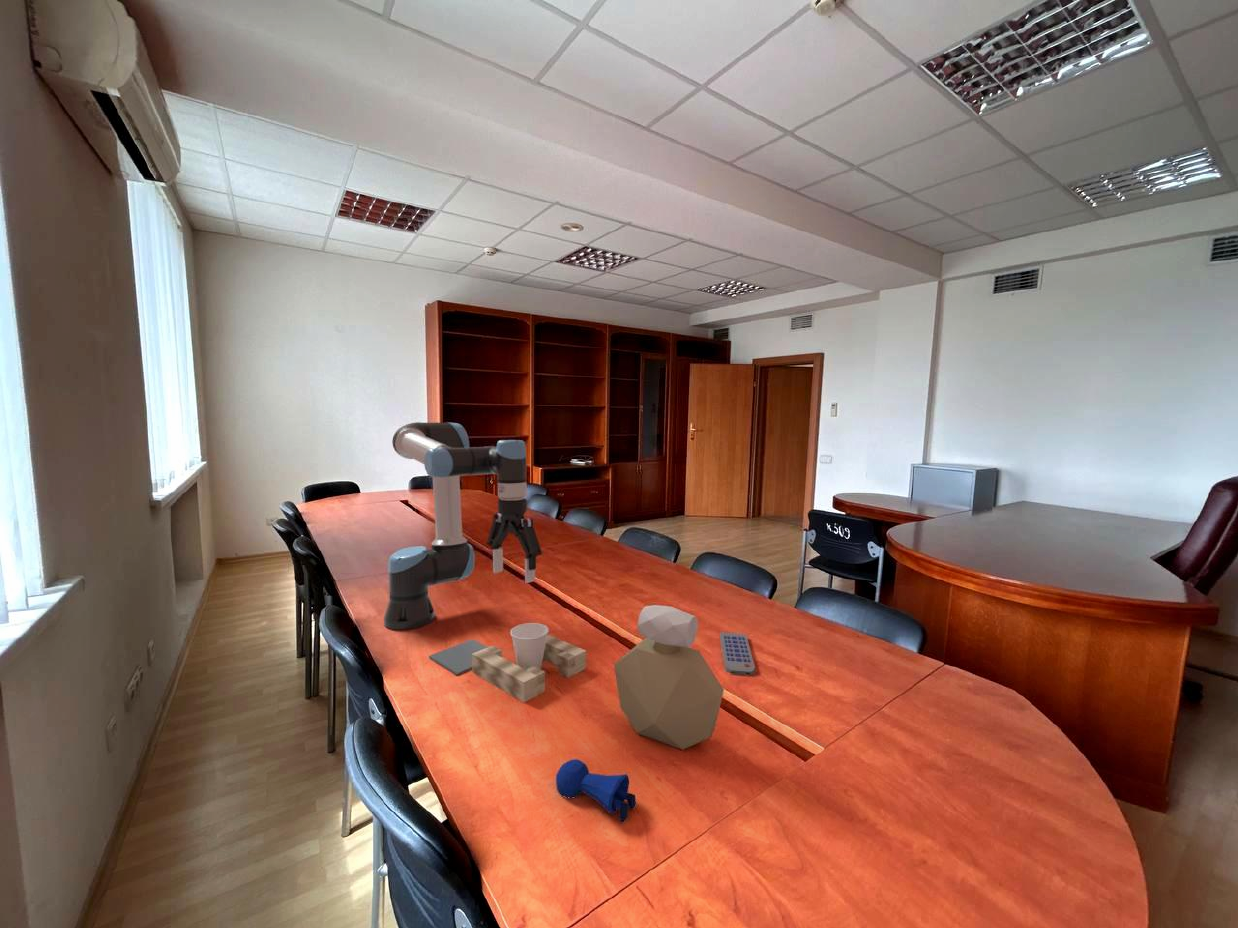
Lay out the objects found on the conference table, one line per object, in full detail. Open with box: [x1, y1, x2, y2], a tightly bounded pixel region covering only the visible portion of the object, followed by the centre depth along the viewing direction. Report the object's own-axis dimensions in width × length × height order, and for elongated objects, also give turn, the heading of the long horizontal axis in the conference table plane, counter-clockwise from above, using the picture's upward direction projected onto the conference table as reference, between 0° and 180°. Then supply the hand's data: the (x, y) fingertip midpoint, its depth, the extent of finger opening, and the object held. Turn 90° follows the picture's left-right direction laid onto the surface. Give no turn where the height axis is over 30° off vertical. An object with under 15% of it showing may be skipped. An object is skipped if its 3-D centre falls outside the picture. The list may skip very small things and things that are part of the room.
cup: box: [510, 622, 549, 670], centre depth 129 cm, size 10×10×11 cm
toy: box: [555, 758, 637, 823], centre depth 86 cm, size 7×6×15 cm
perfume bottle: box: [613, 604, 725, 750], centre depth 103 cm, size 12×24×28 cm, turn 61°
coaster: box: [428, 638, 488, 676], centre depth 136 cm, size 14×14×1 cm
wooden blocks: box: [471, 633, 587, 703], centre depth 129 cm, size 21×21×5 cm
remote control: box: [719, 632, 756, 676], centre depth 140 cm, size 8×23×2 cm, turn 172°
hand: (513, 576), depth 131 cm, fingers open, 13 cm apart
